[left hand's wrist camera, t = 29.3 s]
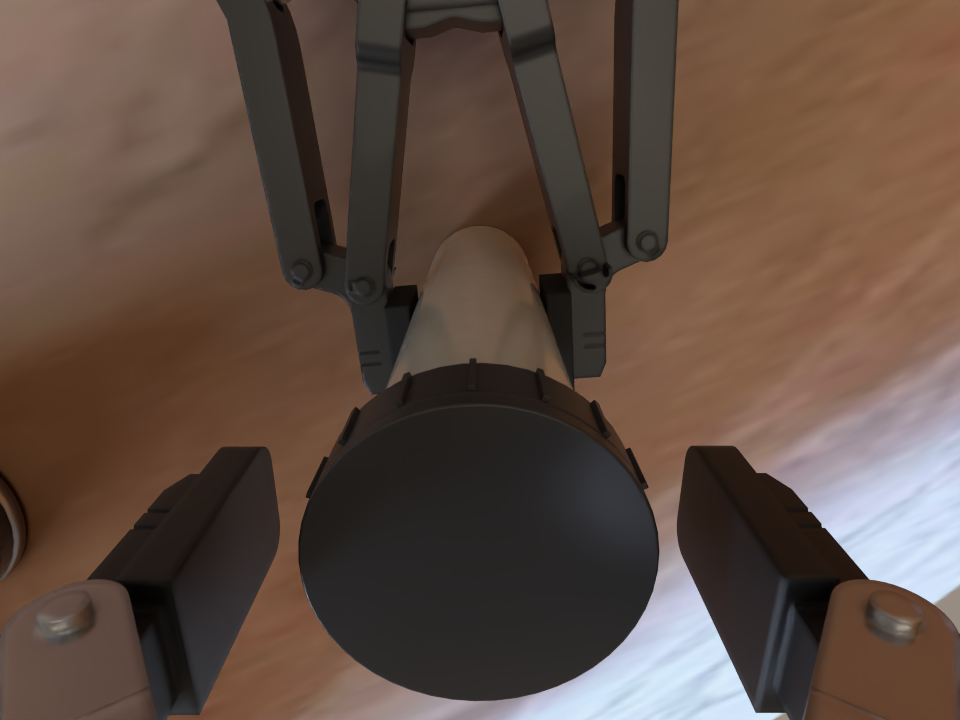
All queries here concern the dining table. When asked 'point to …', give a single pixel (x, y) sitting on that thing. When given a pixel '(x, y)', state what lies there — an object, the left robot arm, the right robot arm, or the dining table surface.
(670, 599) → the dining table surface
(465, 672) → the lid
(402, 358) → the beige cylinder
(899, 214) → the dining table surface
